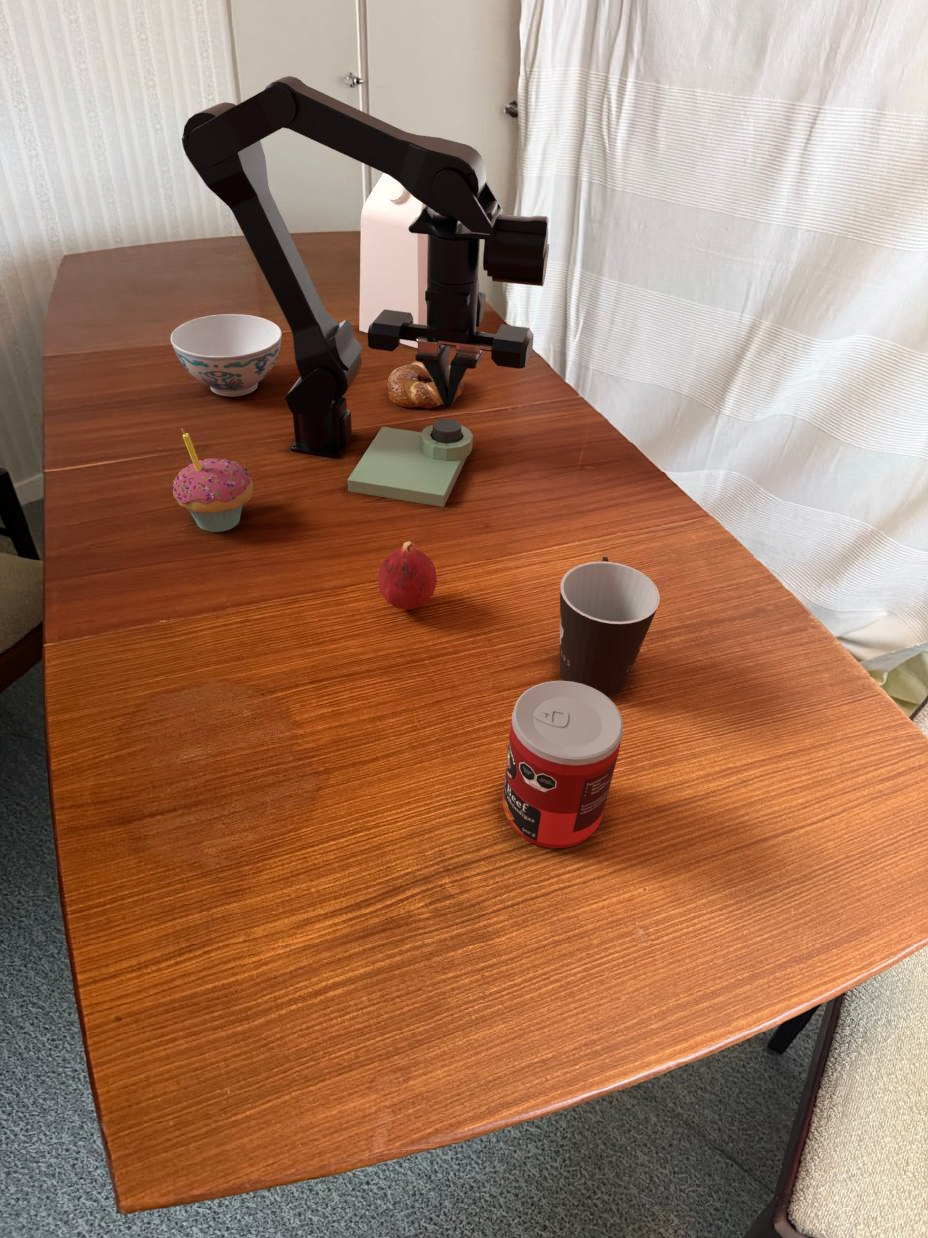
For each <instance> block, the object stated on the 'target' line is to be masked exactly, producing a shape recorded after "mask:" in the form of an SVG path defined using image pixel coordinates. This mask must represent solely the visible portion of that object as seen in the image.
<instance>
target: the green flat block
mask: <svg viewBox="0 0 928 1238" xmlns="http://www.w3.org/2000/svg"><path fill="white" fill-rule="evenodd" d="M473 443H474V435H473V433H472V432H471V430H470V429H469V428H467V427H465V426H463V425H461V439H460V441H458V442H456V443H447V444H446V443H440V442H437V441H435V440H433V424H431V425H428V426H426V427H424V428H423V429H422V431H414V430H409V429H401V428H394V427H388V426H381V428H380V429H379V431H378V432H377V433H376V436H375V437H374V438H373V440H372V442H371V443H370V445H369V446H368V448H367V449H366V450H365V452H364V454H363V455H362V457H361V458H360V459H359V461H358V463H357V464H356V466H355V467H354V469H353V470H352V472H351V474H350V475H349V477H348V478H347V492H349V493H357V494H364V495H369V496H374V497H380V498H382V497H383V498H387V499H393V500H398V501H399V500H400V501H406V502H411V503H417V504H423V505H429V506H435V507H441V508H444V507H445V505H446V504H447V501H448V499H449V497H450V495H451V492H452V490H453V488H454V486H455V484H456V482H457V480H458V477H459V475H460V473H461V472H462V469H463V466H464V464H465V462H466V461H467V458H468V456H469V455H471V452H472V450H473V446H474V445H473Z"/></svg>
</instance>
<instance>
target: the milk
mask: <svg viewBox="0 0 928 1238" xmlns="http://www.w3.org/2000/svg"><path fill="white" fill-rule="evenodd" d="M425 206H426V205H425V204H423V203H422V202H420V201H419V200H418V199H416V198H415V197H413V196H412V195H411V194H410V193H409V192H408V191H407V190H406V189H405V188H404V187H403V186H402V185H401V184H400V183H399V182H398V181H397V180H395V179H394V178H392V177H391V176H389V175H388V174H385V173H383V172H382V175H381V176H380V178H379V179H378V181H377V182H376V184H375V185H374V187H373V189H372V190H371V192H370V194H369V195H368V197H367V199H366V201H365V202H364V204H363V206H362V210H361V212H360V213H361V214H360V248H359V249H360V252H359V253H360V254H359V257H360V258H359V262H360V263H359V318H358V319H359V320H358V321H359V322H358V323H359V324H358V326H359V329H358V330H359V332H363V333H365V334H368V329H369V326H370V324H371V323H372V322H373V321H374V320H375V319H376V317H377V316H378V315H379V314H380V313H381V312H382V311H383V310H384V309H385V310H393V311H401V312H409V313H411V314H412V316H413V324H420V325H427V304H426V301H425V291H426V290H427V240H428V234H417V233H411V232H409V226H410V225H411V223H412V222H413V221H414V219H415V218H416V217H418V216H419V215H420V214H421V212H422V210H423V209H424V207H425ZM400 344H402V345H405V346H408V347H411V348H414V349H418V343H417V342H416V341H409V340H401V339H400Z"/></svg>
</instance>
